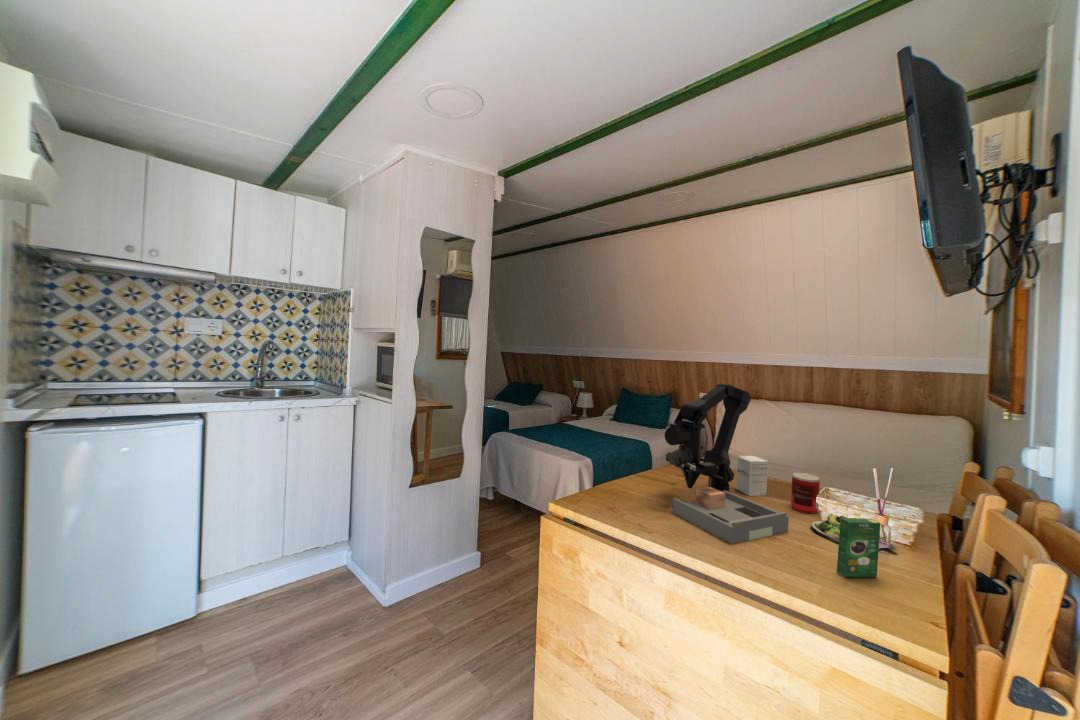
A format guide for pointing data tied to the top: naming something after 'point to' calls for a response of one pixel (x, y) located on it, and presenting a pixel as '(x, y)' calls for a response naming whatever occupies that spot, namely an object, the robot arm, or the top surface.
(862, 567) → the coffee box
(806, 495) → the canned food
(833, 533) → the salad plate
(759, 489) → the supplement box
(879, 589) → the top surface
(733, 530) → the box
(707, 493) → the block
